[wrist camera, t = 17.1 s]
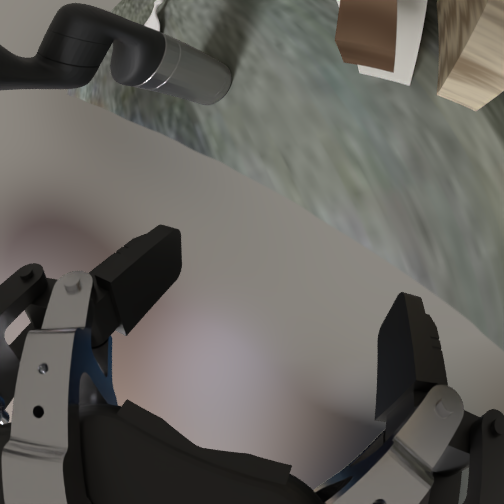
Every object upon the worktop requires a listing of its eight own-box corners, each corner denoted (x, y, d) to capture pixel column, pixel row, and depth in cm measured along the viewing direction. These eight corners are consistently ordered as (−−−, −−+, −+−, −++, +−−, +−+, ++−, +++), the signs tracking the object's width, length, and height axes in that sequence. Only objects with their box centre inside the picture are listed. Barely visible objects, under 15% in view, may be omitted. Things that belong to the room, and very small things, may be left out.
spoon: (202, -38, 34) (194, -44, 31) (153, 60, 48) (143, 56, 45) (177, -32, 37) (169, -37, 34) (132, 60, 50) (122, 57, 47)
